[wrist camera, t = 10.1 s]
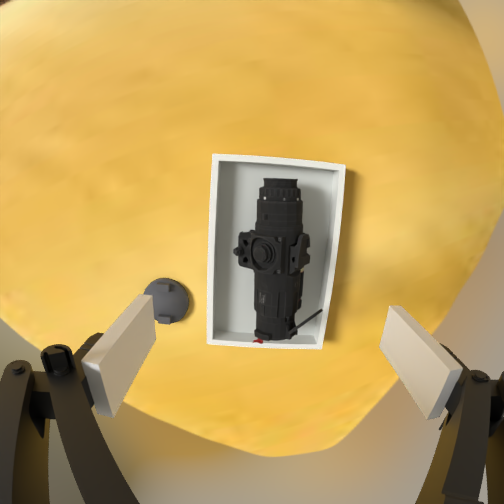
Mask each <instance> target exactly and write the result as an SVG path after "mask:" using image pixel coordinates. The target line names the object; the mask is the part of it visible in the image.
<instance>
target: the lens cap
mask: <svg viewBox="0 0 504 504" xmlns="http://www.w3.org/2000/svg"><path fill="white" fill-rule="evenodd" d="M144 295H152V297H153V311H154V319H155V320H157V321H158V323H160V324H169V325H170V324H171V323H174V322H177V321H179V320H180V319H182V318H183V316H184V315H185V313H186V311H187V309H188V306H189V298H188V295H187V292H186V290H185V289H184V288H183V286H182V285H180V284H179V283H178V282H176V281H175V280H172V279H169V278H159V279H156V280H154V281H153V282H151V283H150V284H149V285H148V287H147V288H146V289H145V291H144Z"/></svg>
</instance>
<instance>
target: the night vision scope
mask: <svg viewBox="0 0 504 504" xmlns="http://www.w3.org/2000/svg"><path fill="white" fill-rule="evenodd" d="M263 180H264V186H263V187H260V188H259V199H257V220H256V222H255V230H250V231H249V232H243V231H242V232H240V233H239V236H238V247H236V248H235V249H233V254H235V255H236V256H238V264H239V266H241V267H245V268H249V269H252V270H253V272H254V310H255V311H256V329H255V330H254V335H255V337H257V338H258V339H257V340H253V343H255V342H257V343H260V344H262V343H263V340H264V341H270V340H272V341H280V340H285V339H288V340H290V339H292V337H293V336H294V335H297V334H298V330H297V329H299V328H300V327H301V326H303V325H304V324H306V323H307V322H308V321H310V320H311V319H313V318H314V317H315V316H317V315H318V314H319V313H321V312H322V311H323V310H322V309H320V310H318V311H317V312H316V313H314V314H313V315H311V316H310V317H309V318H307V319H306V320H304V321H303V322H302V323H300V324H299V325H297V326H296V324H295V313H296V312H297V310H299V309H300V308H301V304H302V300H301V297H302V293H303V279H304V266H305V265H307V264H309V263H310V255H309V254H308V253H307V248H309V247H310V236H309V234H305V233H304V232H303V223H302V215H303V201H302V200H301V189H300V188H298V187H297V181H298V179H286V178H263Z"/></svg>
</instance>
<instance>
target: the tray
mask: <svg viewBox="0 0 504 504" xmlns="http://www.w3.org/2000/svg"><path fill="white" fill-rule="evenodd" d="M345 169H346V165H343V164H335V163H327V162H319V161H310V160H300V159H290V158H278V157H265V156H250V155H230V154H213V155H212V172H211V190H210V210H209V235H208V270H207V344H214V345H227V346H241V347H259V348H284V349H322V345H323V339H324V334H325V329H326V323H327V318H328V312H329V306H330V300H331V294H332V287H333V280H334V274H335V266H336V259H337V251H338V243H339V235H340V226H341V216H342V206H343V195H344V183H345ZM263 178H286V179H298V181H297V187H298V188H300V189H301V200H302V201H303V215H302V223H303V232H304V233H305V234H309V236H310V247H309V248H307V253H308V254H309V255H310V263H309V264H307V265H305V266H304V279H303V293H302V297H301V300H302V304H301V308H300V309H299V310H297V312H296V313H295V324H296V326H297V325H299V324H300V323H302V322H303V321H304V320H306V319H307V318H309V317H310V316H311V315H313V314H314V313H316V312H317V311H318V310H320V309H322V310H323V311H322V312H321V313H319V314H318V315H317V316H315V317H314V318H313V319H311V320H310V321H308V322H307V323H306V324H304V325H303V326H301V327H300V328H299V329H297V330H298V334H297V335H294V336H293V337H292V339H290V340H288V339H285V340H280V341H272V340H270V341H264V340H263V343H262V344H260V343H257V342H255V343H253V340H257V339H258V338H257V337H255V335H254V330H255V329H256V311H255V310H254V272H253V270H252V269H249V268H245V267H241V266H239V264H238V256H236V255H235V254H233V249H235V248H236V247H238V236H239V233H240V232H242V231H243V232H249V231H250V230H255V222H256V220H257V199H259V188H260V187H263V186H264V180H263Z"/></svg>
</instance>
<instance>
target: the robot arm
mask: <svg viewBox="0 0 504 504" xmlns="http://www.w3.org/2000/svg"><path fill="white" fill-rule="evenodd" d="M155 340H156V334H155V323H154V311H153V297H152V295H143V294H139V295H138V296H137V297H136V298H135V300H134V301H133V302H132V303H131V304H130V305H129V306H128V307H127V308H126V309H125V311H124V312H123V313H122V314H121V315H120V316H119V317H118V318H117V320H116V321H115V322H114V323H113V324H112V325H111V326H110V327H109V329H108V330H107V331H106V332H105V333H104V334H103V333H96V334H94V335H93V336H91V337H89V338H88V339H87V340H86V342H85V343H84V344H83V345H82V346H81V347H80V349H78V350H77V351H76V353H75V354H74V355H72V351H71V349H70V348H69V347H68V346H66V345H62V344H56V345H51V346H48V347H47V348H45V349H44V350H43V351H42V352H41V359H42V363H43V365H44V369H45V371H46V372H38V371H33V370H32V367H31V365H30V363H29V362H27V361H24V360H16V361H13V362H11V363H10V364H8V365H7V366H6V368H5V370H4V373H3V375H2V378H1V381H0V504H50V502H49V486H48V485H49V483H48V448H49V428H50V419H56V421H57V425H58V429H59V432H60V436H61V439H62V443H63V445H64V449H65V452H66V455H67V458H68V461H69V464H70V467H71V470H72V472H73V475H74V478H75V480H76V483H77V485H78V487H79V490H80V492H81V495H82V497H83V499H84V501H85V503H86V504H140V503H139V502H138V500H137V499H136V497H135V496H134V494H133V492H132V491H131V489H130V487H129V485H128V484H127V482H126V480H125V479H124V477H123V475H122V473H121V471H120V470H119V468H118V466H117V464H116V462H115V460H114V458H113V456H112V454H111V452H110V450H109V448H108V446H107V444H106V442H105V440H104V438H103V436H102V433H101V431H100V429H99V427H98V424H97V422H96V420H95V417H94V415H93V413H92V410H91V408H92V406H93V405H95V408H96V411H97V414H101V415H104V416H108V417H112V418H114V416H115V414H116V412H117V410H118V409H119V407H120V404H121V403H122V401H123V399H124V397H125V395H126V393H127V392H128V390H129V388H130V386H131V384H132V382H133V380H134V378H135V377H136V375H137V373H138V371H139V369H140V367H141V366H142V364H143V362H144V360H145V358H146V357H147V355H148V353H149V351H150V349H151V348H152V346H153V344H154V342H155ZM379 348H380V349H381V351H382V352H383V354H384V355H385V357H386V358H387V360H388V361H389V363H390V364H391V366H392V367H393V369H394V370H395V372H396V373H397V375H398V376H399V378H400V379H401V381H402V382H403V384H404V385H405V387H406V388H407V390H408V391H409V393H410V395H411V396H412V398H413V399H414V401H415V402H416V404H417V406H418V407H419V409H420V410H421V412H422V413H423V415H424V417H425V418H426V420H429V419H433V418H437V417H440V415H441V413H442V411H443V409H444V407H446V409H447V410H448V414H447V416H446V417H445V419H444V421H443V423H442V425H441V426H440V428H439V430H441V429H442V432H441V435H440V438H439V442H438V445H437V448H436V451H435V454H434V457H433V460H432V463H431V466H430V469H429V472H428V474H427V477H426V479H425V482H424V484H423V487H422V489H421V492H420V494H419V496H418V498H417V501H416V503H415V504H484V503H483V502H479V501H478V497H479V493H480V489H481V484H482V479H483V473H484V467H485V465H486V475H487V490H488V504H504V417H503V416H504V372H502V374H501V376H500V378H499V380H490V377H489V376H488V375H487V374H486V373H484V372H482V371H479V370H471V371H470V370H469V369H468V368H467V367H466V366H465V365H464V364H463V363H462V362H461V361H460V360H459V359H458V358H457V357H456V356H455V355H454V354H453V352H451V351H450V349H449V348H447V347H446V346H444V345H442V344H440V343H438V342H437V341H436V340H435V339H434V338H433V337H432V336H431V335H430V334H429V333H428V332H427V331H426V330H425V329H424V328H423V327H422V326H421V325H420V324H419V323H418V322H417V321H416V320H415V319H414V318H413V317H412V316H411V315H410V314H409V313H408V312H407V311H406V310H405V309H404V308H403V307H402V306H389V310H388V314H387V319H386V323H385V327H384V331H383V334H382V338H381V342H380V346H379ZM442 427H443V428H442Z"/></svg>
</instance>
